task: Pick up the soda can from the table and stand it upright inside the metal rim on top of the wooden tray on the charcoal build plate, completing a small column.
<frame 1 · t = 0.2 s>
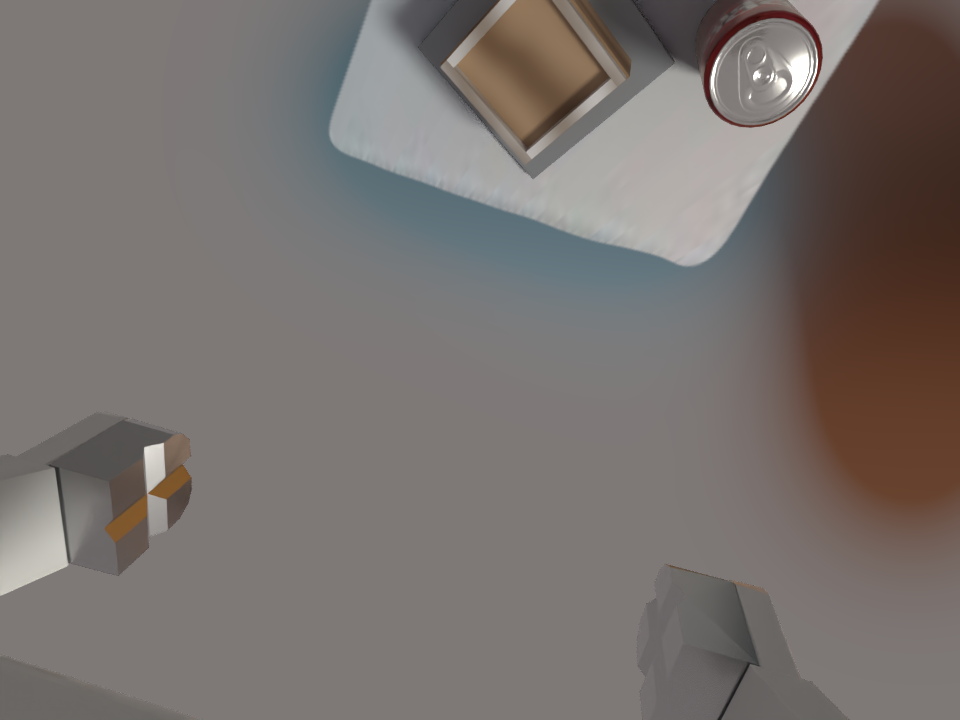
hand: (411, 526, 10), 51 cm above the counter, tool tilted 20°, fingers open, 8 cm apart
wooden tray: (536, 63, 48), on the build plate, point 4 cm above the counter
soda can: (741, 35, 47), on the counter
build plate: (542, 52, 51), on the counter
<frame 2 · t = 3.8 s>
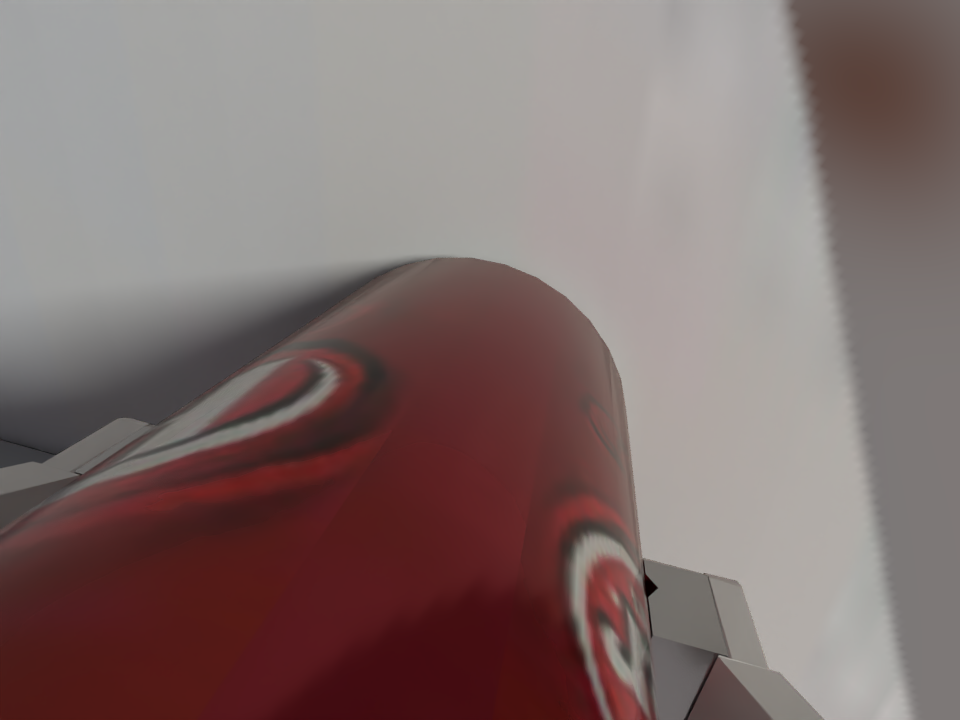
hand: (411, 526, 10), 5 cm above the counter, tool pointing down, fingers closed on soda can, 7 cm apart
soda can: (470, 398, 14), on the counter, touching gripper
build plate: (127, 660, 20), on the counter
when the fingers open (12 cm above the counter, at t = 8.9 s): soda can stays where it is, resting on wooden tray.
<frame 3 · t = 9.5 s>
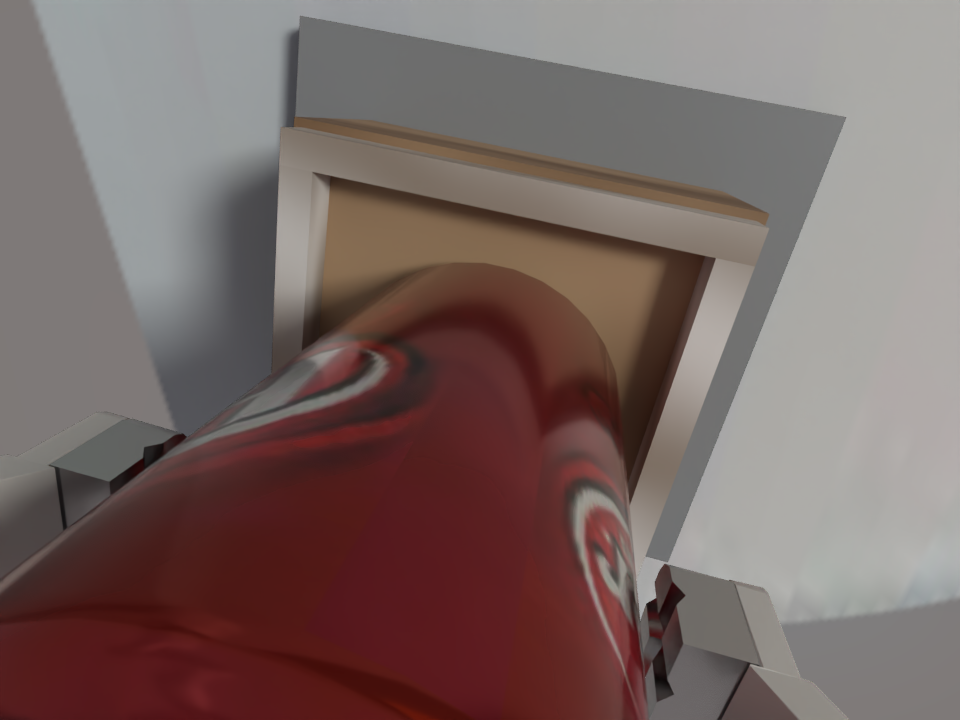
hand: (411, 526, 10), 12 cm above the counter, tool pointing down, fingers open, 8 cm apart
wooden tray: (491, 352, 17), on the build plate, point 4 cm above the counter
soda can: (479, 388, 16), point 6 cm above the counter, touching wooden tray
build plate: (509, 313, 21), on the counter
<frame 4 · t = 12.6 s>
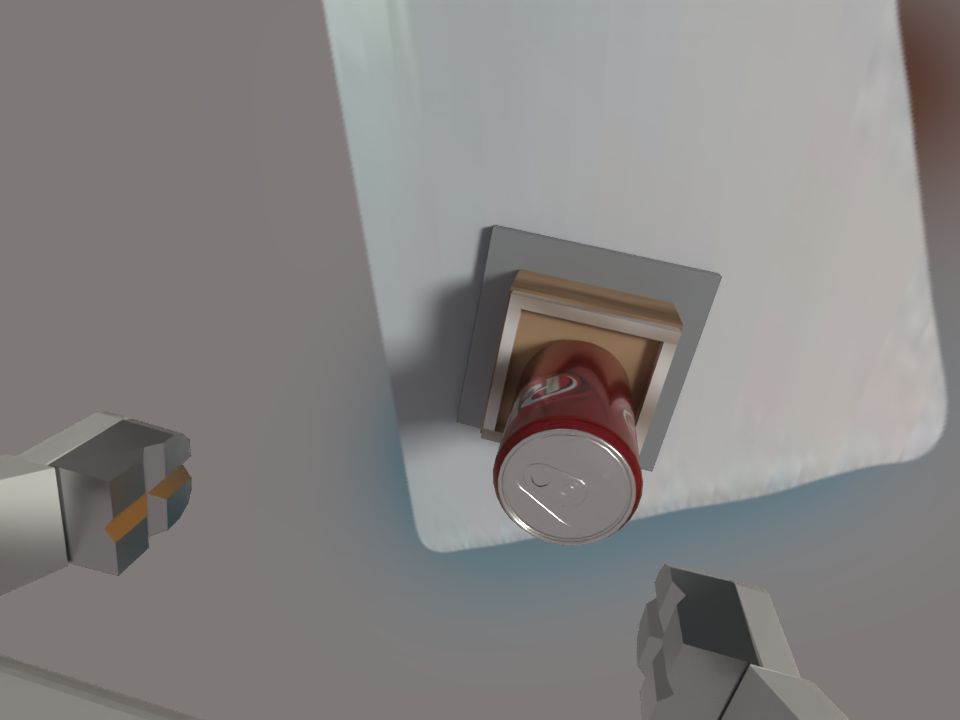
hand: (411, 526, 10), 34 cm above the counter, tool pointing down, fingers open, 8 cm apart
wooden tray: (575, 371, 40), on the build plate, point 4 cm above the counter
soda can: (574, 386, 39), point 6 cm above the counter, touching wooden tray
build plate: (577, 351, 44), on the counter
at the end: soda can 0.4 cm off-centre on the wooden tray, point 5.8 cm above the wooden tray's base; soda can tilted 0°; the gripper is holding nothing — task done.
